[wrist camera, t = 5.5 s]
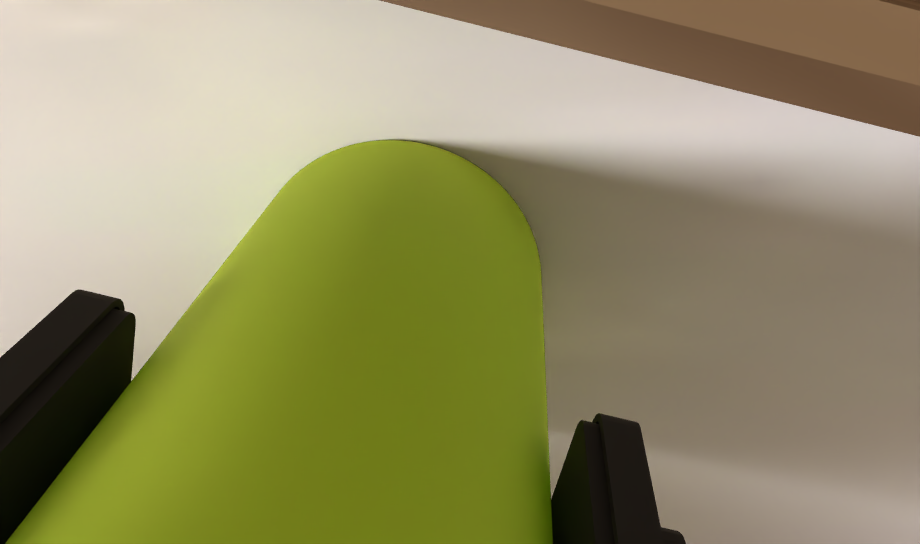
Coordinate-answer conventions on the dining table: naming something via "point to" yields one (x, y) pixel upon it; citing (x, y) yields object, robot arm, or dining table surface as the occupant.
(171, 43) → the dining table surface
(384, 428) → the soap dispenser
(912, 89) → the wooden tray
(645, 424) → the dining table surface
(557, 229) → the dining table surface
